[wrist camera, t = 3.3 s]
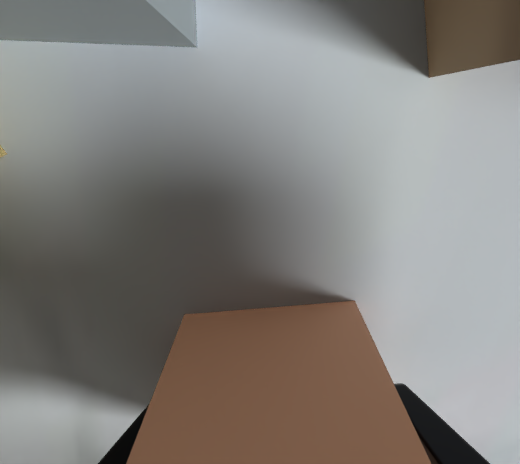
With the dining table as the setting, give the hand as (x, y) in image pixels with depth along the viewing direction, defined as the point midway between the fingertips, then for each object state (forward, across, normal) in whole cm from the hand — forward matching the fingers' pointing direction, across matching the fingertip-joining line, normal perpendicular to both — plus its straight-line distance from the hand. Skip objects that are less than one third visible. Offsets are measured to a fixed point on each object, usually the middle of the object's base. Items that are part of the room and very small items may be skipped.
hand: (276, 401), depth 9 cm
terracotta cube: (+1, 0, 0) cm, 1 cm away
